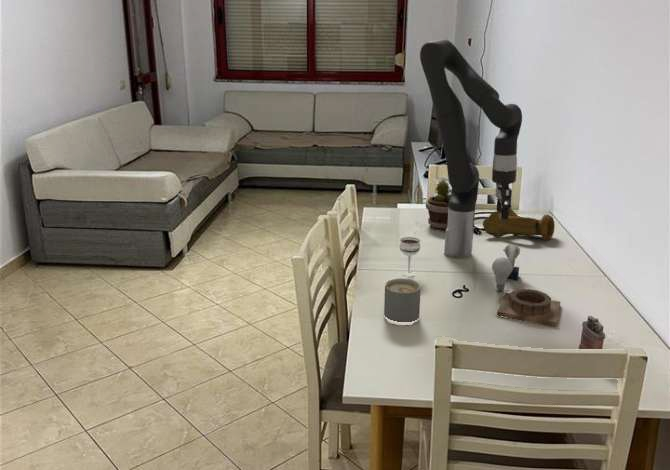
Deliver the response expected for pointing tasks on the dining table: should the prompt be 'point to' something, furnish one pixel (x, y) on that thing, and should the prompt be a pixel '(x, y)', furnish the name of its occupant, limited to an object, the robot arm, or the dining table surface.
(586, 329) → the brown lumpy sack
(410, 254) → the wineglass
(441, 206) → the flowerpot
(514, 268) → the watch
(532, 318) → the lamp socket
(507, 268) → the lightbulb
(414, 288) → the coffee mug
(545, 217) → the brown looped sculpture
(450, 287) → the dining table surface
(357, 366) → the dining table surface
